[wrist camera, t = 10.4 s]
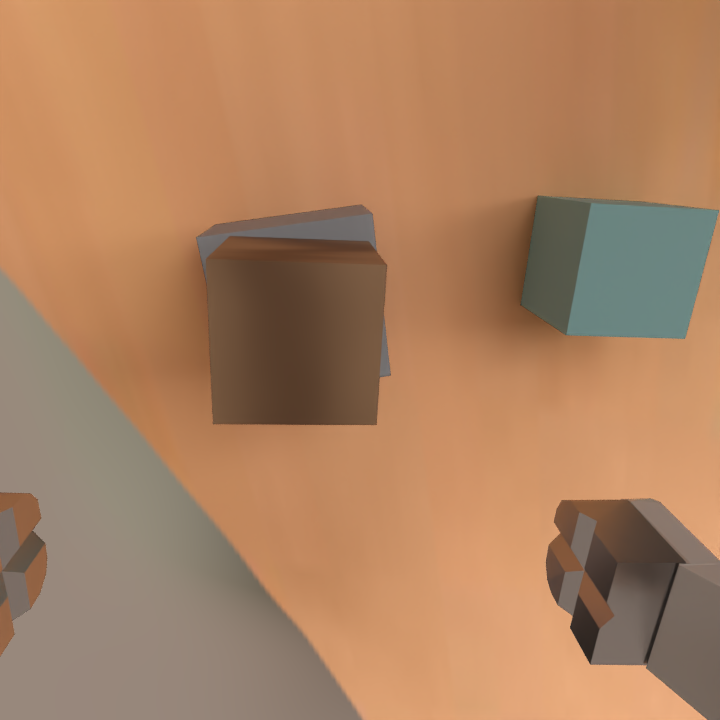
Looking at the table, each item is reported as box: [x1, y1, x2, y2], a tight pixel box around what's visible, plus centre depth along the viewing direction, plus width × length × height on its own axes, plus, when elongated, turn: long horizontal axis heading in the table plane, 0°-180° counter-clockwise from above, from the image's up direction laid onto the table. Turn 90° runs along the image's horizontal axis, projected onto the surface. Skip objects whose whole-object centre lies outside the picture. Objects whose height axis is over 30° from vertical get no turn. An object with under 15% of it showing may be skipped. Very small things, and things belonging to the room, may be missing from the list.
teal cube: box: [521, 196, 719, 339], centre depth 26 cm, size 6×6×6 cm
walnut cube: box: [206, 236, 387, 425], centre depth 20 cm, size 6×6×6 cm
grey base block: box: [196, 205, 391, 377], centre depth 25 cm, size 7×7×5 cm
